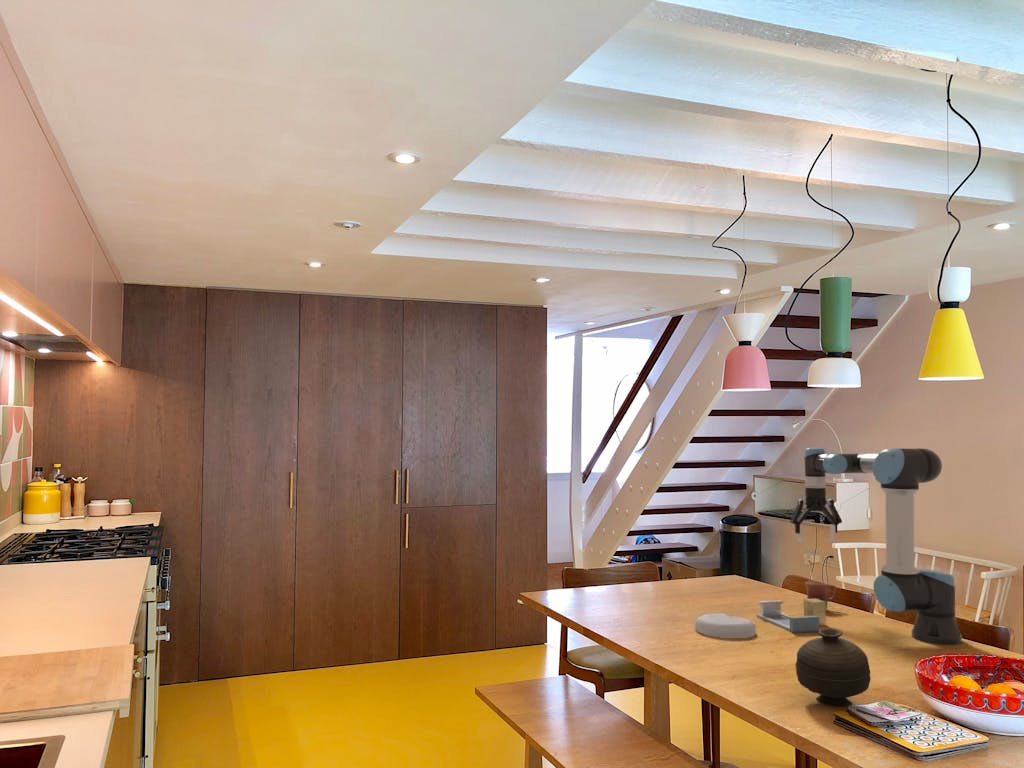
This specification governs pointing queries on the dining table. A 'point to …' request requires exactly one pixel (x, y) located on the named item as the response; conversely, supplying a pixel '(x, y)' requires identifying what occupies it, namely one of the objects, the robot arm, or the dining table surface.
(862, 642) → the dining table surface
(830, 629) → the pot
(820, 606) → the brass block
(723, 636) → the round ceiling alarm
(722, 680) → the dining table surface
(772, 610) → the slide jaw
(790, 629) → the vise body
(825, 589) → the mug
